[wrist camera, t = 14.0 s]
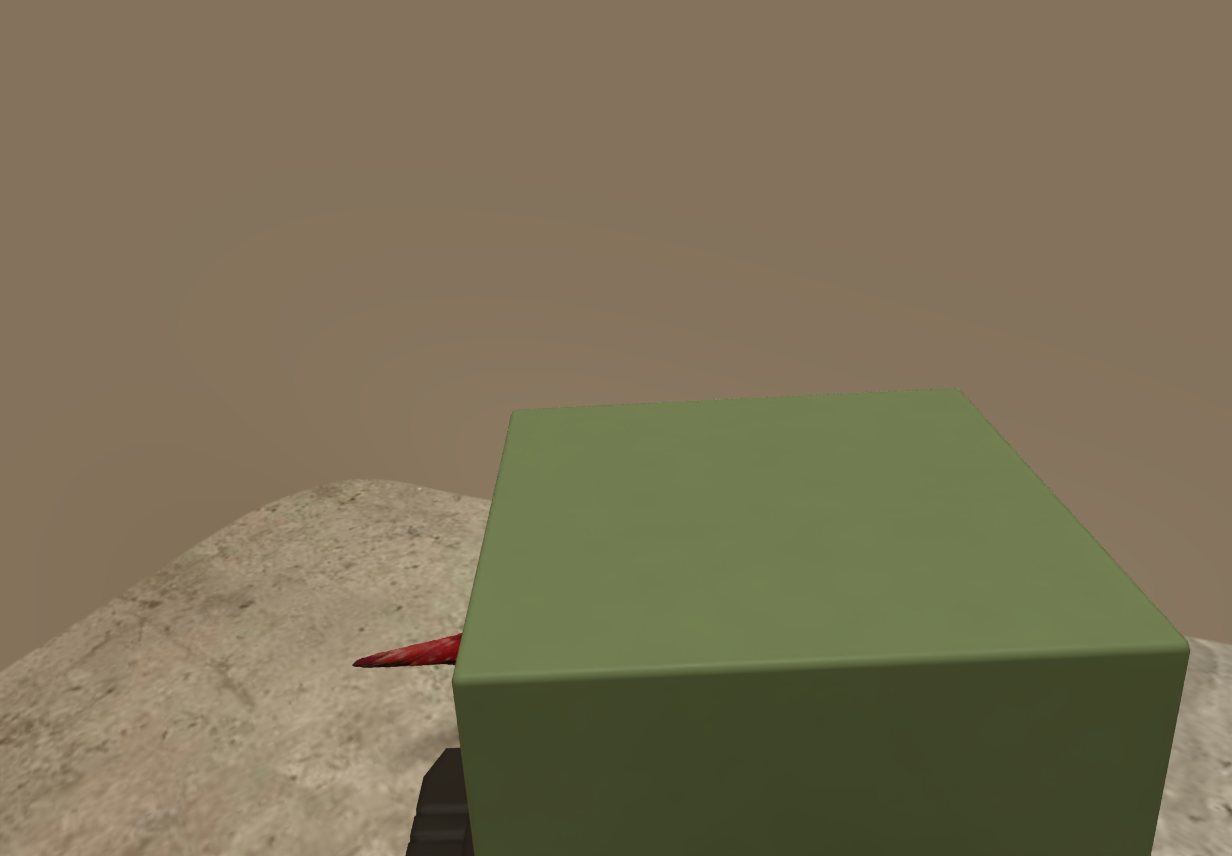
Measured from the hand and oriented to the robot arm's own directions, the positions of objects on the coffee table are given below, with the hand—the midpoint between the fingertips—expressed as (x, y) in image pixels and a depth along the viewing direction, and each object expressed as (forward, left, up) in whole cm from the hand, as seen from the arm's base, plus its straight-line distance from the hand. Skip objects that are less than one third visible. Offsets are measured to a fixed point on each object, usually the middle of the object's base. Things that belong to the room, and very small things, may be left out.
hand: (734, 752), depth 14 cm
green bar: (+2, +2, -7) cm, 7 cm away
